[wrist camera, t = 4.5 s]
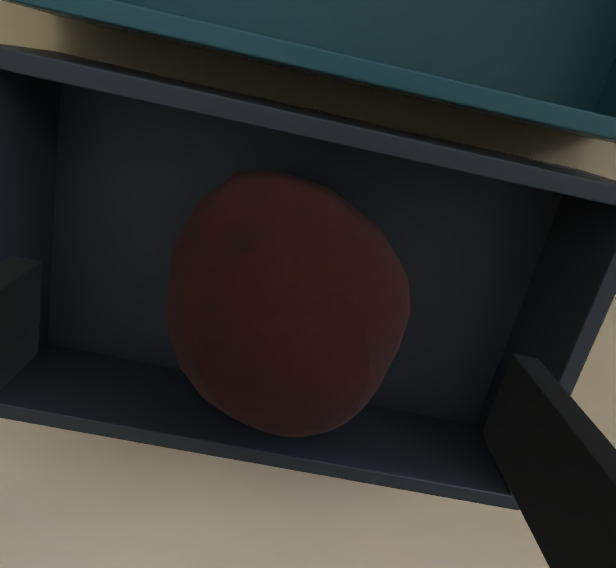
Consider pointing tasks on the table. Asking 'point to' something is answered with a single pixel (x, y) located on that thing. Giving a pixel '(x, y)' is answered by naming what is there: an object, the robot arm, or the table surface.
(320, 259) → the potato
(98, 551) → the table surface
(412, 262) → the box
